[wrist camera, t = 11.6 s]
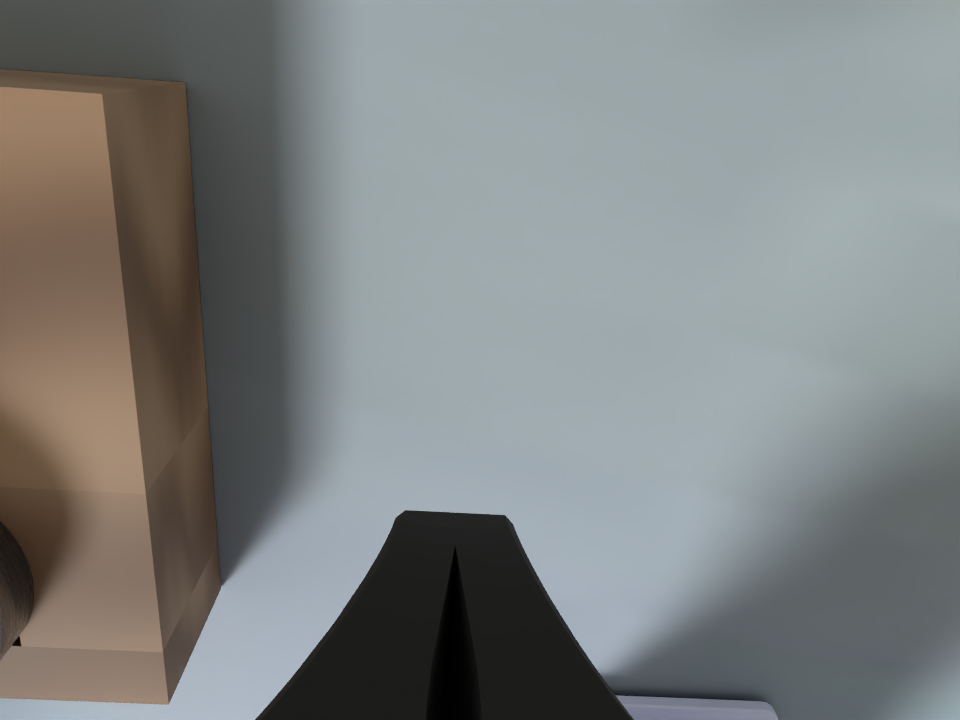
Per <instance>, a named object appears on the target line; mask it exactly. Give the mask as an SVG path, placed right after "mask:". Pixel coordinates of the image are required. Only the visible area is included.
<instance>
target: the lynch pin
mask: <svg viewBox="0 0 960 720" xmlns="http://www.w3.org/2000/svg"><path fill="white" fill-rule="evenodd" d="M33 603H34V584H33V577H32V573H31V570H30V566H29V563H28V561H27V559H26V557H25V554H24V552H23V550H22V549H21V547H20V545H19V544H18V542H17V541H16V539H15V538H14V536H13V535H12V534H11V532H10V531H9V530H8V529H7V527H6V526H5V525H4V524H3V523H2V522H1V521H0V661H1V659H2V658H3V657H4V655H5V654H6V653H7V651H8V650H9V649H10V647H11V646H12V645H13V643H14V642H15V641H16V639H17V638H18V637H19V635H20V634H21V633H22V631H23V630H24V628H25V626H26V625H27V623H28V620H29V618H30V616H31V612H32V608H33Z"/></svg>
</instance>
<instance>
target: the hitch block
mask: <svg viewBox="0 0 960 720" xmlns="http://www.w3.org/2000/svg"><path fill="white" fill-rule="evenodd" d="M0 521H1V522H2V523H3V524H4V525H5V526H6V527H7V529H8V530H9V531H10V532H11V534H12V535H13V536H14V538H15V539H16V541H17V542H18V544H19V545H20V547H21V549H22V550H23V552H24V554H25V557H26V559H27V561H28V563H29V566H30V570H31V573H32V577H33V584H34V603H33V608H32V612H31V616H30V618H29V620H28V623H27V625H26V626H25V628H24V630H23V631H22V633H21V634H20V635H19V637H18V638H17V639H16V641H15V642H14V643H13V645H12V646H11V647H10V649H9V650H8V651H7V653H6V654H5V655H4V657H3V658H2V659H1V661H0V698H13V699H39V700H65V701H91V702H117V703H142V704H168V705H169V703H170V700H171V698H172V696H173V694H174V691H175V689H176V687H177V685H178V683H179V680H180V678H181V676H182V674H183V671H184V669H185V667H186V665H187V663H188V660H189V658H190V656H191V654H192V651H193V649H194V647H195V645H196V643H197V640H198V638H199V636H200V634H201V631H202V629H203V627H204V625H205V623H206V620H207V618H208V616H209V614H210V611H211V609H212V607H213V605H214V602H215V600H216V598H217V596H218V594H219V591H220V589H221V582H220V568H219V554H218V539H217V525H216V511H215V497H214V482H213V468H212V454H211V439H210V425H209V411H208V397H207V382H206V368H205V354H204V340H203V325H202V311H201V297H200V282H199V268H198V254H197V240H196V225H195V211H194V197H193V183H192V168H191V154H190V140H189V125H188V111H187V97H186V83H185V82H174V81H160V80H146V79H132V78H119V77H105V76H91V75H77V74H63V73H49V72H35V71H21V70H7V69H0Z"/></svg>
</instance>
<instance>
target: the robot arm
mask: <svg viewBox="0 0 960 720" xmlns="http://www.w3.org/2000/svg"><path fill="white" fill-rule="evenodd" d="M255 720H778V717H777V715H776V713H775V711H774V709H773V707H772V705H770V704H768V703H767V702H762V701H741V700H716V699H691V698H666V697H641V696H616V695H615V694H614V693H613V691H612V690H611V689H610V687H609V686H608V685H607V683H606V682H605V680H604V679H603V678H602V676H601V675H600V674H599V672H598V671H597V669H596V668H595V667H594V665H593V664H592V662H591V661H590V660H589V658H588V657H587V655H586V654H585V652H584V651H583V649H582V648H581V646H580V645H579V643H578V642H577V640H576V639H575V637H574V636H573V634H572V632H571V631H570V629H569V628H568V626H567V624H566V623H565V621H564V620H563V618H562V616H561V615H560V613H559V612H558V610H557V609H556V607H555V605H554V604H553V602H552V600H551V599H550V597H549V595H548V594H547V592H546V590H545V588H544V587H543V585H542V583H541V581H540V579H539V578H538V576H537V574H536V572H535V570H534V568H533V567H532V565H531V563H530V561H529V559H528V557H527V555H526V553H525V551H524V549H523V547H522V545H521V543H520V540H519V538H518V536H517V534H516V531H515V529H514V526H513V524H512V523H511V522H510V520H509V519H508V518H507V517H506V516H505V515H489V514H469V513H449V512H428V511H408V510H405V511H404V512H403V513H401V514H400V515H399V516H398V517H396V519H395V521H394V524H393V527H392V529H391V531H390V533H389V535H388V537H387V540H386V542H385V543H384V545H383V547H382V549H381V551H380V553H379V554H378V556H377V558H376V560H375V561H374V563H373V565H372V566H371V568H370V570H369V571H368V573H367V575H366V576H365V578H364V580H363V581H362V583H361V584H360V586H359V587H358V589H357V590H356V592H355V593H354V594H353V596H352V597H351V599H350V600H349V602H348V603H347V605H346V606H345V608H344V609H343V611H342V612H341V614H340V615H339V617H338V618H337V620H336V621H335V622H334V624H333V625H332V627H331V628H330V629H329V631H328V632H327V633H326V634H325V636H324V637H323V638H322V640H321V641H320V642H319V643H318V645H317V646H316V647H315V649H314V650H313V651H312V652H311V654H310V655H309V656H308V658H307V659H306V660H305V661H304V663H303V664H302V665H301V667H300V668H299V669H298V670H297V672H296V673H295V674H294V676H293V677H292V678H291V679H290V680H289V682H288V683H287V684H286V685H285V686H284V687H283V689H282V690H281V691H280V692H279V693H278V694H277V696H276V697H275V698H274V699H273V700H272V701H271V703H270V704H269V705H268V706H267V707H266V708H265V709H264V710H263V712H262V713H261V714H260V715H259V716H258V717H257V718H256V719H255Z"/></svg>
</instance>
